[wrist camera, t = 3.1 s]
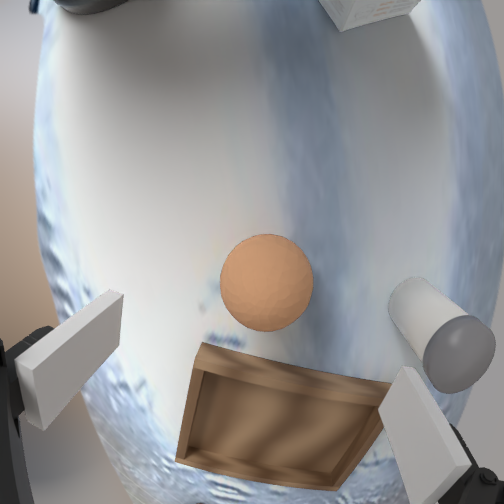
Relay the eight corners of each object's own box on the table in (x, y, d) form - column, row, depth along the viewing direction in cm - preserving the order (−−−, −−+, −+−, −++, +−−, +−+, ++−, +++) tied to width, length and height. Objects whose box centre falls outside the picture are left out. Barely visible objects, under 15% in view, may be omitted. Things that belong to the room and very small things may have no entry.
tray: (180, 444, 34) (174, 461, 31) (202, 341, 30) (194, 358, 27) (334, 474, 33) (336, 491, 30) (392, 383, 29) (400, 400, 26)
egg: (322, 251, 27) (343, 288, 18) (281, 314, 28) (282, 372, 20) (254, 211, 26) (241, 229, 18) (216, 277, 28) (188, 323, 19)
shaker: (377, 323, 28) (417, 390, 18) (398, 269, 27) (454, 318, 16) (423, 333, 28) (471, 395, 18) (444, 282, 26) (506, 331, 16)
